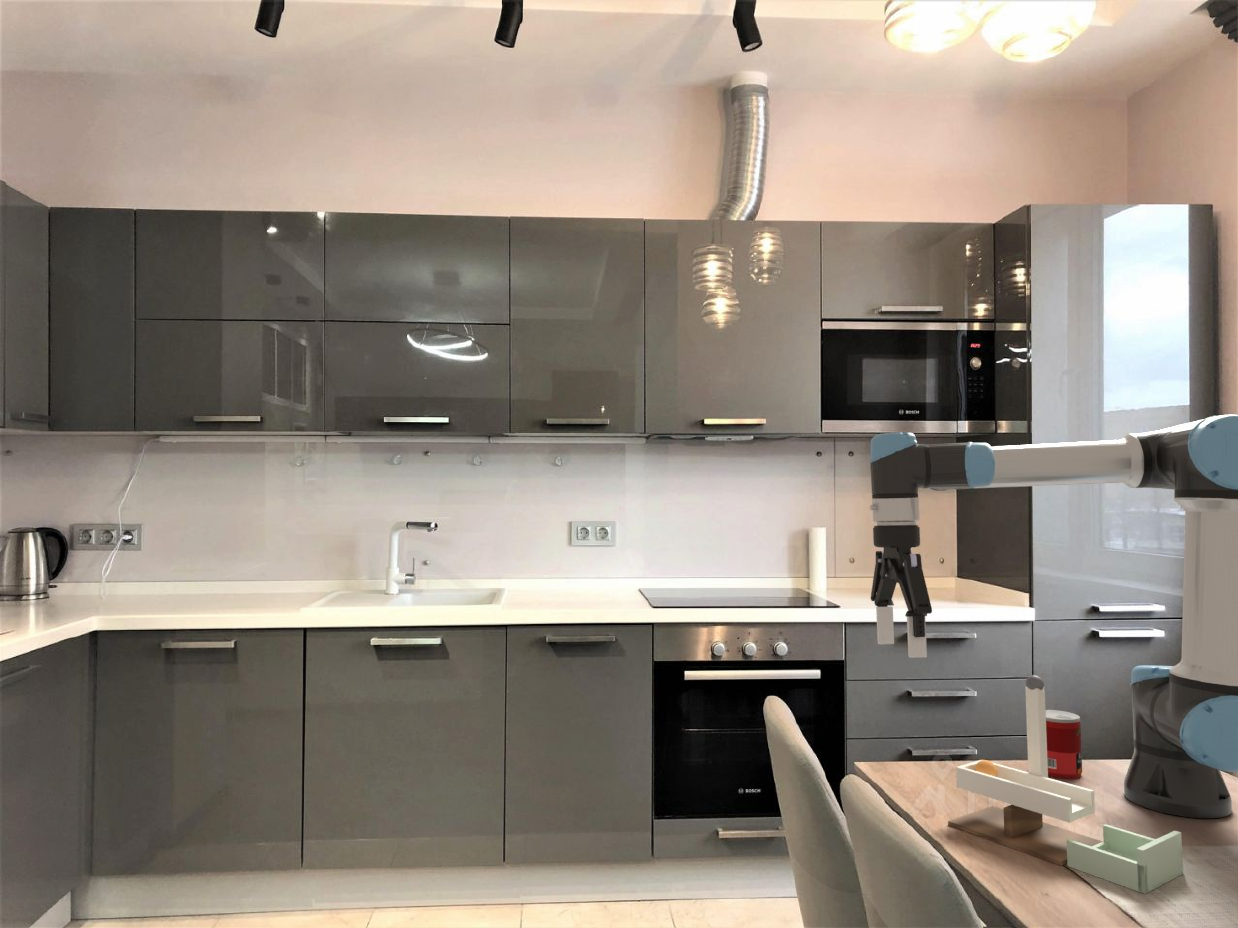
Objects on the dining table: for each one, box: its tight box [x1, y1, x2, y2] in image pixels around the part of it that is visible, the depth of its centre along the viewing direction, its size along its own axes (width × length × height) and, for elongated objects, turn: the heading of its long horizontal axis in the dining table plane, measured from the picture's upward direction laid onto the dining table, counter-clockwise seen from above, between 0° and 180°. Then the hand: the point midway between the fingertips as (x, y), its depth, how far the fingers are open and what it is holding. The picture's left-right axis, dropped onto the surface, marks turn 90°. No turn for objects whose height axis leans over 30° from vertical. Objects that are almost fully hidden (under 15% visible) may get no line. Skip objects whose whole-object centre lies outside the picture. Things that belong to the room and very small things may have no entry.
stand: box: [947, 804, 1104, 867], centre depth 124 cm, size 18×12×5 cm, turn 33°
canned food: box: [1045, 709, 1083, 780], centre depth 154 cm, size 8×8×11 cm
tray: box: [1066, 823, 1184, 895], centre depth 112 cm, size 10×11×6 cm
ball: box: [975, 759, 997, 777], centre depth 130 cm, size 3×3×3 cm
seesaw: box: [955, 674, 1096, 823], centre depth 126 cm, size 18×9×18 cm, turn 33°
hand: (901, 650), depth 136 cm, fingers open, 13 cm apart
